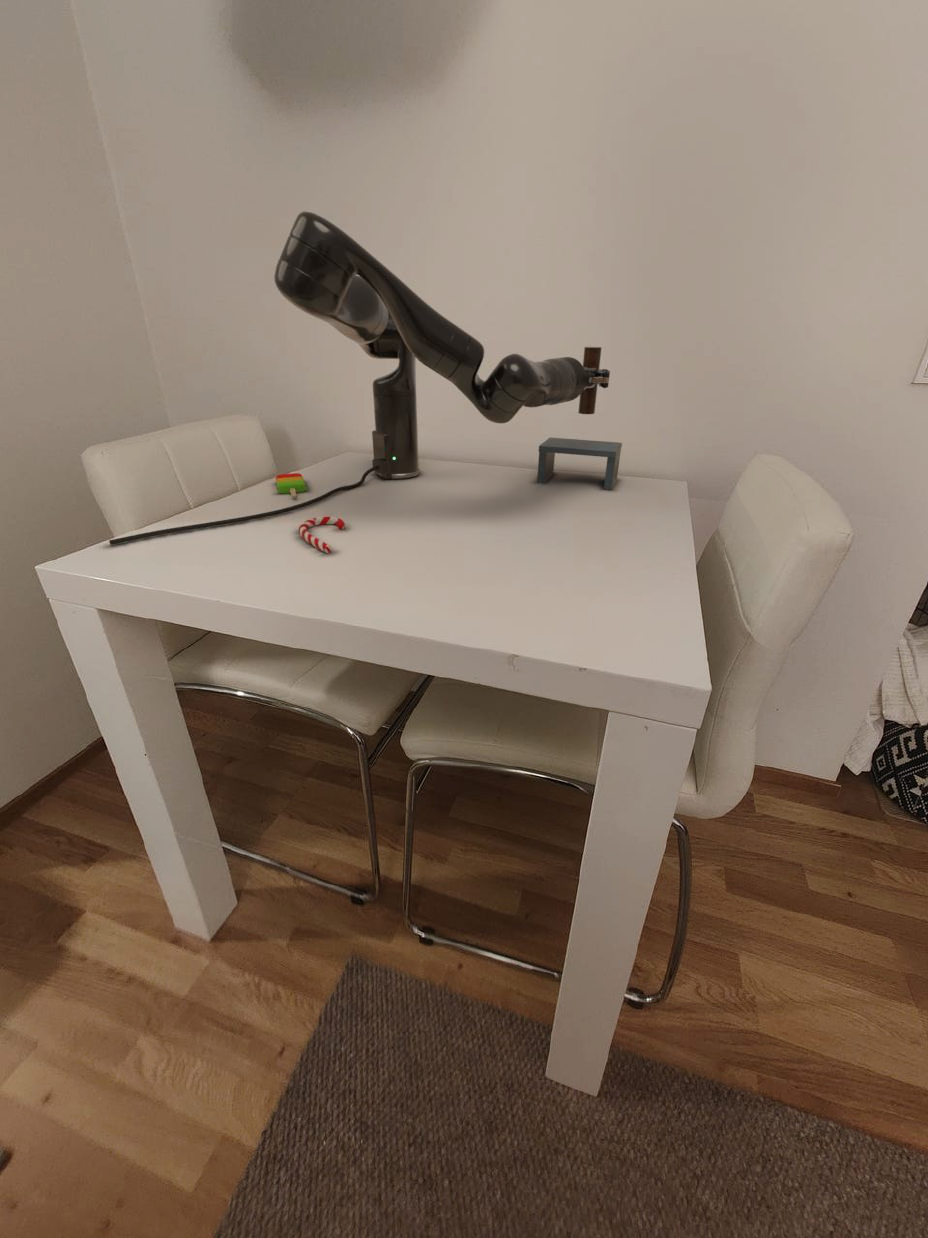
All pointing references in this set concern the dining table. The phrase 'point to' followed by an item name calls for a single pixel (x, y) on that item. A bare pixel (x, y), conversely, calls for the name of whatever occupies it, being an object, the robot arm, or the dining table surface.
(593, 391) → the stick
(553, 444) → the shelf
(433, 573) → the dining table surface
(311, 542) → the candy cane
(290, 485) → the popsicle
